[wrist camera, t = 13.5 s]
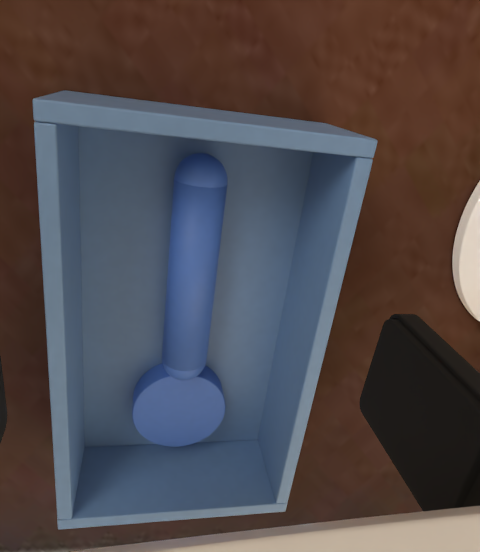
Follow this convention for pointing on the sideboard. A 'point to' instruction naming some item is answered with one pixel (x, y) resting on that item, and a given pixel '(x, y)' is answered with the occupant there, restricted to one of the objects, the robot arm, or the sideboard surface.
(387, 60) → the sideboard surface
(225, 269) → the blue bin
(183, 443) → the blue spoon
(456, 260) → the decorative vase
